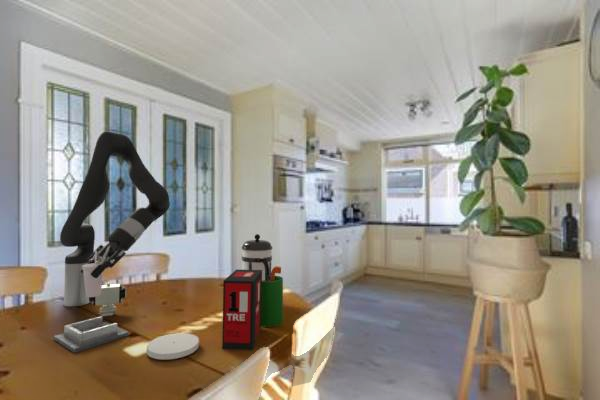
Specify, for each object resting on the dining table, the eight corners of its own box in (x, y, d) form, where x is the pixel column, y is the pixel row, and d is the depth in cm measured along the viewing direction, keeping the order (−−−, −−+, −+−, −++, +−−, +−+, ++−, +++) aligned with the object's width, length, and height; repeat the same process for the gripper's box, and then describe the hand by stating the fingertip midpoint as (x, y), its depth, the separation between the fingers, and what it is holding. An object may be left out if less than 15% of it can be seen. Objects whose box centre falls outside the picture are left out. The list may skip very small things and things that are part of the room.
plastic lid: (145, 367, 83) (146, 357, 83) (147, 345, 96) (147, 337, 96) (201, 357, 89) (201, 348, 89) (196, 338, 102) (196, 330, 102)
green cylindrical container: (258, 317, 121) (259, 264, 121) (282, 316, 122) (283, 264, 122) (257, 327, 111) (258, 269, 111) (283, 326, 112) (284, 269, 112)
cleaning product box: (252, 350, 94) (253, 281, 94) (222, 349, 94) (223, 280, 94) (261, 328, 110) (262, 270, 110) (235, 327, 110) (236, 269, 111)
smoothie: (109, 294, 102) (110, 250, 103) (89, 299, 97) (90, 253, 97) (97, 291, 105) (97, 248, 105) (76, 296, 99) (77, 251, 99)
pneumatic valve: (124, 314, 121) (125, 283, 122) (88, 319, 116) (89, 286, 117) (125, 310, 126) (126, 279, 127) (90, 314, 121) (91, 282, 122)
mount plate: (53, 339, 99) (54, 326, 99) (105, 325, 111) (106, 313, 111) (74, 353, 90) (75, 338, 90) (128, 335, 102) (128, 322, 102)
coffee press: (229, 309, 129) (230, 235, 129) (250, 299, 144) (251, 232, 144) (267, 315, 122) (268, 237, 123) (285, 304, 137) (286, 234, 138)
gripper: (108, 225, 111) (68, 265, 101) (130, 227, 103) (89, 270, 93) (123, 239, 116) (86, 278, 106) (146, 242, 107) (108, 285, 98)
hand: (88, 274), depth 100 cm, fingers closed on smoothie, 6 cm apart
